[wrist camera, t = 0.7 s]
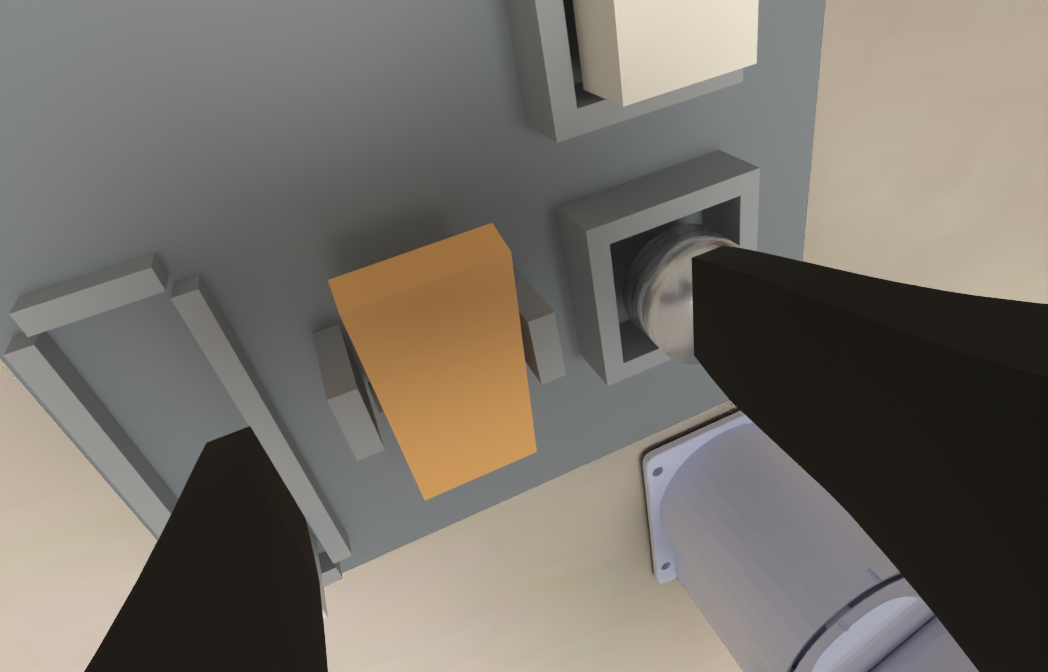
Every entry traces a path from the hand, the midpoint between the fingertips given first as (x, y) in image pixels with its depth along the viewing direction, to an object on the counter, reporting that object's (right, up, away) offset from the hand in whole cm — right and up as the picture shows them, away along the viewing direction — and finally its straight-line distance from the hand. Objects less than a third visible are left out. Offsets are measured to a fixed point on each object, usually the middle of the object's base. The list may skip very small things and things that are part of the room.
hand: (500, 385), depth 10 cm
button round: (+5, +2, +8) cm, 10 cm away
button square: (+3, +8, +4) cm, 9 cm away
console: (-2, +4, +9) cm, 10 cm away
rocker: (-2, 0, +6) cm, 6 cm away
